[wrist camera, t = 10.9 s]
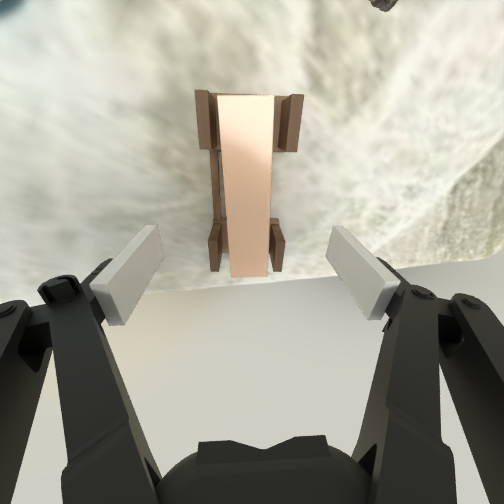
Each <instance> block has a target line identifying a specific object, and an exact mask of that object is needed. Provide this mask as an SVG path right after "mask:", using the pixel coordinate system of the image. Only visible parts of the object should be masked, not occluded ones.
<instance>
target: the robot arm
mask: <svg viewBox="0 0 504 504" xmlns="http://www.w3.org/2000/svg"><path fill="white" fill-rule="evenodd" d="M163 258H164V254H163V249H162V245H161V240H160V236H159V231H158V227H157V225H145V226H144V227H143V228H142V229H141V231H140V232H139V233H138V234H137V235H136V236H135V237H134V238H133V239H132V240H131V241H130V242H129V243H128V244H127V245H126V246H125V247H124V248H123V249H122V250H121V251H120V252H119V254H118V255H117V256H116V257H115V258H111V259H108V260H106V261H104V262H103V263H101V264H100V265H99V266H98V267H97V268H96V269H95V270H94V271H93V272H92V273H91V275H89V276H88V277H87V278H86V279H85V280H84V281H83V282H82V283H81V284H80V283H79V281H78V279H77V278H76V277H75V276H74V275H62V276H58V277H55V278H52V279H50V280H48V281H46V282H44V283H43V284H42V285H41V286H39V288H38V290H37V291H38V293H39V294H40V296H41V297H42V299H43V300H44V302H45V303H46V304H43V305H38V306H33V307H29V306H28V304H27V303H26V302H25V301H24V300H14V301H9V302H6V303H2V304H0V504H11V500H12V497H13V493H14V489H15V486H16V482H17V478H18V475H19V471H20V467H21V464H22V460H23V456H24V452H25V449H26V445H27V442H28V438H29V434H30V430H31V427H32V423H33V420H34V416H35V412H36V409H37V404H38V401H39V398H40V394H41V390H42V386H43V383H44V379H45V376H46V372H47V368H48V364H49V361H50V357H51V354H52V350H53V354H54V361H55V368H56V376H57V383H58V389H59V398H60V405H61V412H62V420H63V427H64V434H65V442H66V448H67V457H68V464H67V466H66V467H65V469H64V470H63V471H62V476H61V489H62V499H63V504H457V497H456V483H455V481H456V480H455V466H454V458H453V453H452V451H451V449H450V447H449V446H447V445H446V444H444V443H443V441H442V438H441V417H440V381H439V380H440V379H439V364H440V366H441V369H442V372H443V375H444V377H445V380H446V383H447V386H448V388H449V391H450V394H451V397H452V400H453V403H454V405H455V408H456V411H457V414H458V416H459V419H460V422H461V425H462V427H463V430H464V433H465V436H466V439H467V441H468V444H469V447H470V450H471V452H472V455H473V458H474V461H475V463H476V466H477V469H478V472H479V475H480V478H481V480H482V483H483V486H484V489H485V492H486V494H487V497H488V500H489V503H490V504H504V326H503V325H502V324H501V322H500V321H499V320H498V318H497V317H496V316H495V314H494V313H493V312H492V310H491V309H490V308H489V307H488V306H487V305H486V304H485V303H484V302H482V301H481V300H480V299H478V298H475V297H473V296H470V295H467V294H461V293H458V294H455V295H454V296H453V297H452V299H451V300H447V299H442V298H437V297H436V295H434V293H432V292H431V291H430V290H428V289H426V288H424V287H421V286H418V285H411V284H410V283H408V282H407V281H406V280H405V279H404V278H403V277H402V276H401V275H400V274H399V273H398V272H396V271H395V270H394V269H393V268H391V266H390V265H389V264H388V263H387V262H385V261H384V260H382V259H380V258H378V257H375V256H374V255H373V254H372V253H371V252H370V251H369V250H367V249H366V248H365V247H364V246H363V245H362V244H361V243H360V242H359V241H358V240H357V239H356V238H355V237H354V236H353V235H352V234H351V233H350V232H349V231H348V230H347V229H346V228H344V227H343V226H333V229H332V233H331V237H330V241H329V244H328V248H327V252H326V258H327V260H328V261H329V263H330V264H331V266H332V267H333V269H334V270H335V272H336V273H337V275H338V276H339V278H340V279H341V281H342V282H343V283H344V285H345V286H346V288H347V290H348V291H349V293H350V294H351V296H352V297H353V299H354V300H355V302H356V303H357V304H358V306H359V308H360V309H361V311H362V312H363V314H364V315H365V317H366V318H367V320H381V319H382V317H383V315H384V313H385V312H386V314H387V315H388V316H389V317H390V318H389V319H388V321H387V323H386V325H385V327H384V329H383V330H382V332H384V336H383V340H382V344H381V348H380V353H379V357H378V361H377V365H376V369H375V373H374V377H373V381H372V386H371V389H370V394H369V398H368V402H367V406H366V410H365V414H364V418H363V422H362V426H361V430H360V435H359V438H358V441H357V444H356V446H355V449H354V451H353V454H352V456H351V457H350V456H349V455H347V454H346V453H344V452H342V451H341V450H339V449H337V448H334V447H332V446H329V445H328V444H327V440H326V437H325V435H317V436H299V437H293V438H291V439H289V440H286V441H284V442H282V443H279V444H277V445H275V446H272V447H270V448H268V449H258V448H255V447H252V446H248V445H245V444H242V443H238V442H235V441H231V440H227V441H209V442H199V444H198V452H196V453H193V454H191V455H189V456H188V457H186V458H184V459H183V460H181V461H180V462H179V463H178V464H176V465H175V466H174V467H173V468H172V469H171V470H170V471H169V472H168V473H167V474H166V475H165V476H164V477H163V478H162V476H161V474H160V471H159V469H158V467H157V464H156V462H155V460H154V458H153V456H152V453H151V451H150V449H149V446H148V444H147V441H146V438H145V436H144V433H143V431H142V428H141V426H140V423H139V420H138V418H137V415H136V413H135V410H134V408H133V405H132V402H131V400H130V397H129V395H128V392H127V389H126V387H125V384H124V382H123V379H122V377H121V374H120V371H119V369H118V366H117V364H116V361H115V359H114V356H113V353H112V351H111V348H110V346H109V343H108V340H107V338H106V335H105V333H104V330H103V328H102V326H101V323H102V322H103V320H104V319H105V318H106V320H107V322H108V324H109V326H111V325H112V326H113V325H114V326H115V325H125V323H126V322H127V320H128V318H129V316H130V315H131V313H132V311H133V310H134V308H135V306H136V304H137V303H138V301H139V299H140V297H141V296H142V294H143V292H144V291H145V289H146V287H147V286H148V284H149V282H150V280H151V279H152V277H153V275H154V273H155V272H156V270H157V268H158V267H159V265H160V263H161V261H162V260H163Z"/></svg>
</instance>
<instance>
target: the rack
mask: <svg viewBox="0 0 504 504" xmlns="http://www.w3.org/2000/svg"><path fill="white" fill-rule="evenodd" d="M229 95H247V94H224V93H210V92H209V91H208V90H195V101H196V112H197V123H198V134H199V146H200V149H208V150H210V164H211V179H212V194H213V208H214V220H213V227H212V230H211V233H210V236H209V240H208V247H209V258H210V269H211V272H219V269H220V263H221V257H222V253H229V243H228V230H227V218H221V207H220V186H219V166H218V150H221V138H220V125H219V112H218V99H217V96H229ZM303 100H304V95H303V94H291V95H290V96H274V118H273V144H272V152H297V147H298V139H299V131H300V124H301V116H302V108H303ZM284 248H285V240H284V237H283V234H282V232H281V229H280V226H279V220H278V219H273V218H270V225H269V251H268V253H269V254H270V258H271V263H272V267H273V272H282V264H283V256H284Z"/></svg>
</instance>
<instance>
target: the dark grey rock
mask: <svg viewBox="0 0 504 504" xmlns="http://www.w3.org/2000/svg"><path fill="white" fill-rule="evenodd" d="M370 1H371V4H372V6H374V7H376V8H380V10H381V11H384V12H387V11H389V10H390V9H391V8H392V7H393V6H394V5H395V4H396V2H397V1H398V0H370Z"/></svg>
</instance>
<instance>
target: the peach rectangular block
mask: <svg viewBox="0 0 504 504" xmlns="http://www.w3.org/2000/svg"><path fill="white" fill-rule="evenodd" d="M217 99H218V112H219V125H220V138H221V152H222V165H223V178H224V191H225V204H226V217H227V230H228V243H229V256H230V269H231V278H238V277H268V251H269V225H270V198H271V171H272V144H273V118H274V95H229V96H217Z"/></svg>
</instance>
